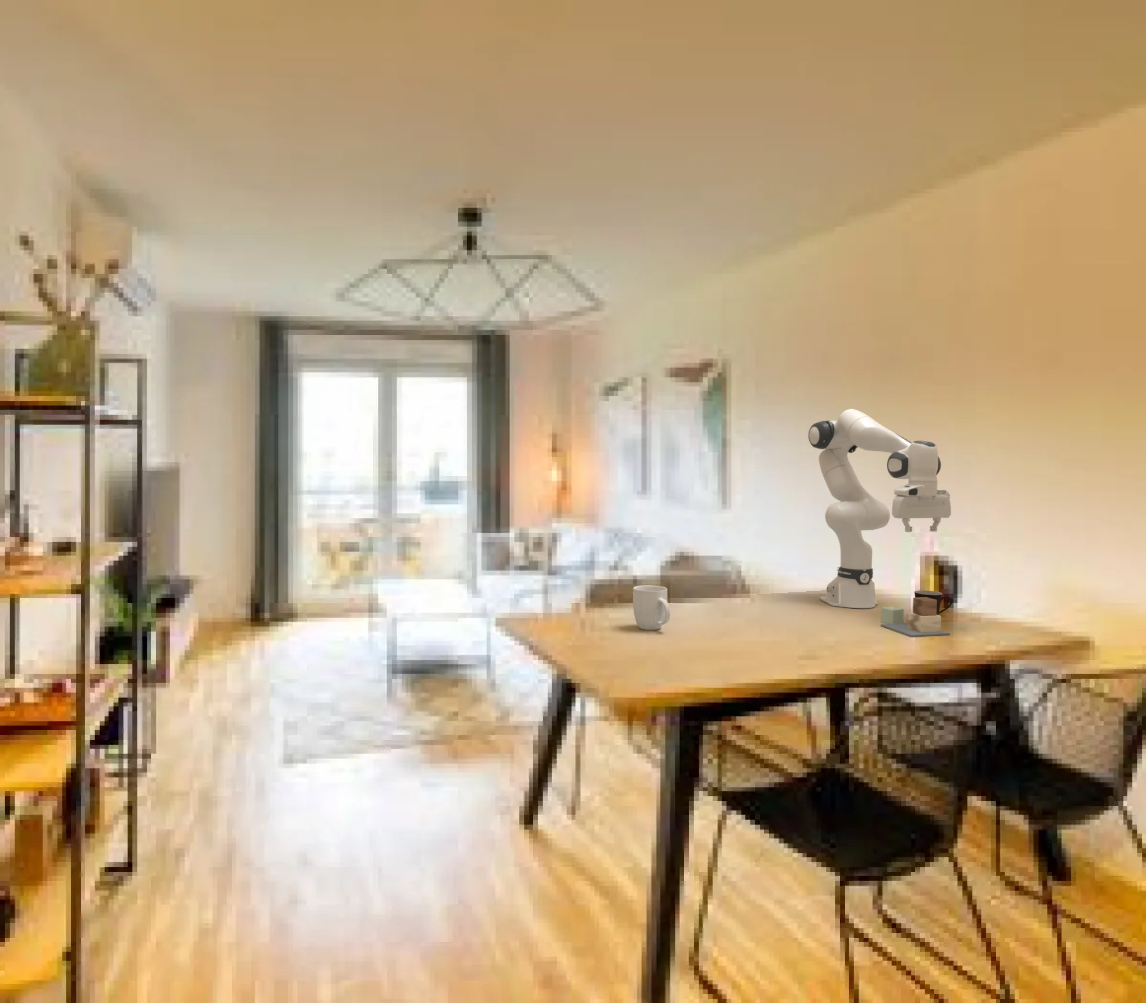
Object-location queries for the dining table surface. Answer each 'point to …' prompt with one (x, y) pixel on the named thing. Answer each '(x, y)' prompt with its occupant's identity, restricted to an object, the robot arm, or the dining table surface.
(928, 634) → the mat
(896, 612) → the sage block
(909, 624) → the base block
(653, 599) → the mug
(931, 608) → the walnut block
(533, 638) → the dining table surface
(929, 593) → the coffee mug
